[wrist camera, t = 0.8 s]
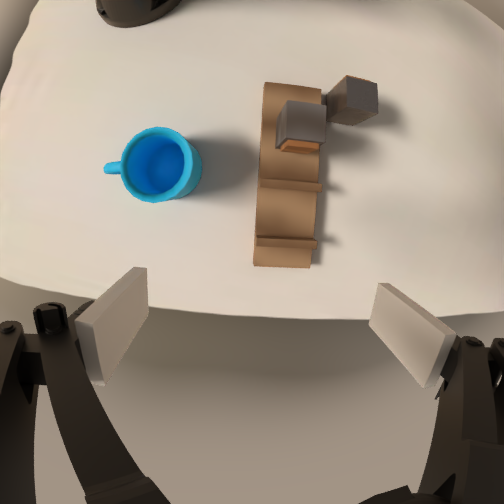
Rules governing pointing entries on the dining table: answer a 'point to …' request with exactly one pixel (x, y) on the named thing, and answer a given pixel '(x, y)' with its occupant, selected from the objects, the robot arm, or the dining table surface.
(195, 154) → the mug
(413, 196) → the dining table surface
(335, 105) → the dark grey upright block
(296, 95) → the rail
